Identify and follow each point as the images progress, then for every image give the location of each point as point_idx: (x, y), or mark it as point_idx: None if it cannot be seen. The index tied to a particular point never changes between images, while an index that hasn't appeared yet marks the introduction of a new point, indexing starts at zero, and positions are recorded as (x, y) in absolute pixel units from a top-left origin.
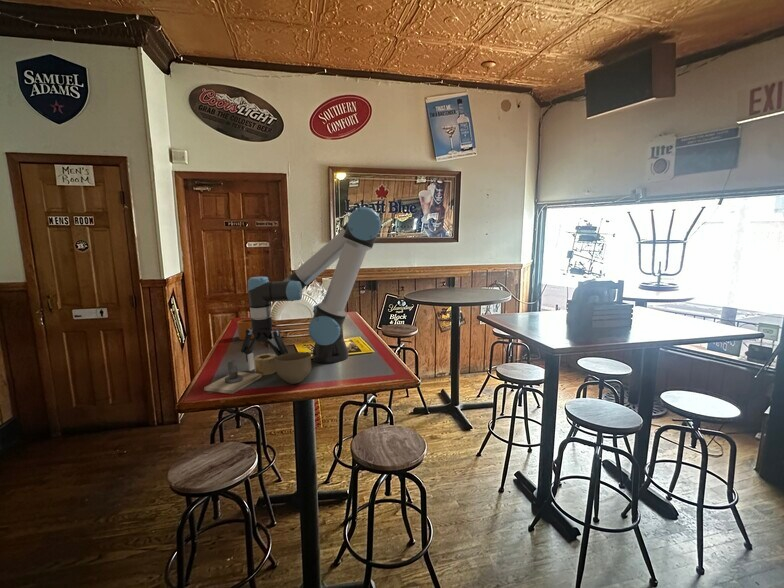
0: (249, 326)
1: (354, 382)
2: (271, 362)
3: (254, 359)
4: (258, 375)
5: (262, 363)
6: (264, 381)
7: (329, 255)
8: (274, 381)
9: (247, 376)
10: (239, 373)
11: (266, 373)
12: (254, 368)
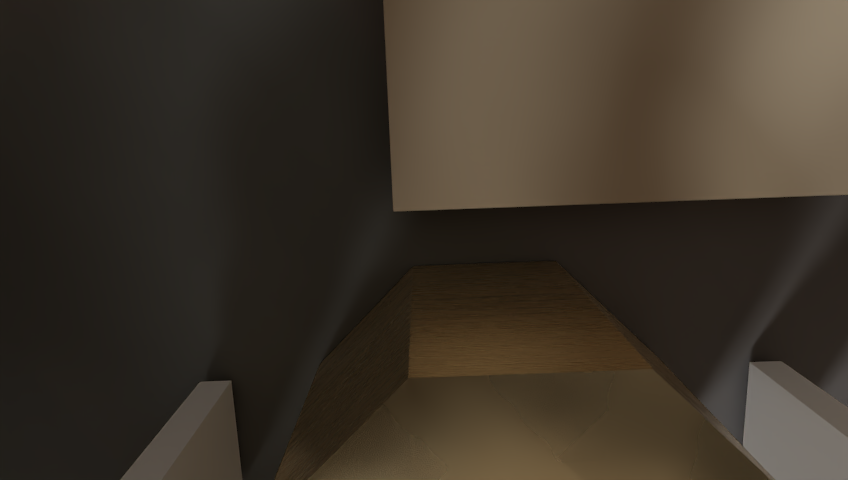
0: None
1: None
2: (276, 477)
3: (684, 398)
4: (397, 131)
5: (408, 344)
6: (217, 47)
7: None
8: (55, 95)
9: (569, 30)
10: (822, 123)
11: (378, 309)
12: None
